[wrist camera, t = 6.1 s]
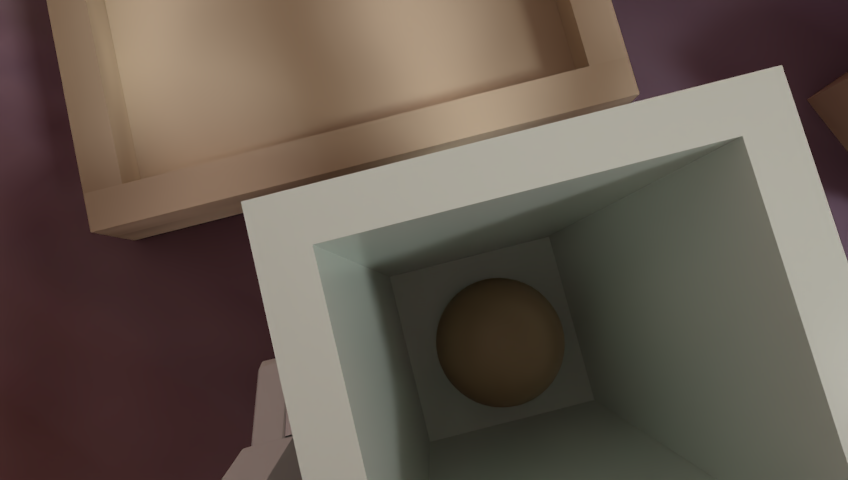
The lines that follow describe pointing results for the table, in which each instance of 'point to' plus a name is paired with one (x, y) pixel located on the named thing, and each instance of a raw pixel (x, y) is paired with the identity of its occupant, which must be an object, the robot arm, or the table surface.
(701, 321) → the sage cup
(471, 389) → the cork ball
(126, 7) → the birch tray
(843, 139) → the walnut block
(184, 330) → the table surface
